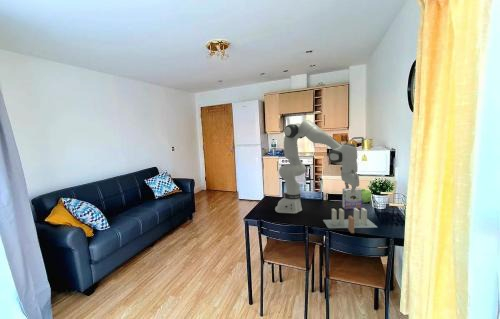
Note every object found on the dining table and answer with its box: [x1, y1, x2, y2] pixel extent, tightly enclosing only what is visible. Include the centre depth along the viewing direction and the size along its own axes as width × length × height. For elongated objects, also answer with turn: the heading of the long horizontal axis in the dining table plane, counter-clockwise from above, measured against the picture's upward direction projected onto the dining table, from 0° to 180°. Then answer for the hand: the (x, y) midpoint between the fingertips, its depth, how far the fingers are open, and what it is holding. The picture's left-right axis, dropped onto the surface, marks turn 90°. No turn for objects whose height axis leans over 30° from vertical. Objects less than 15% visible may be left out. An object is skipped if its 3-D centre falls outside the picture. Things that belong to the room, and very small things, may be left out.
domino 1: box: [331, 208, 338, 225], centre depth 154 cm, size 2×5×10 cm, turn 176°
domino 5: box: [360, 207, 368, 225], centre depth 153 cm, size 2×5×10 cm, turn 176°
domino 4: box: [353, 208, 360, 225], centre depth 153 cm, size 2×5×10 cm, turn 176°
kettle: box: [361, 188, 372, 204], centre depth 198 cm, size 15×14×11 cm
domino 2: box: [338, 207, 345, 225], centre depth 154 cm, size 2×5×10 cm, turn 176°
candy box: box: [342, 187, 363, 210], centre depth 183 cm, size 14×6×16 cm, turn 84°
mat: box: [322, 218, 378, 229], centre depth 154 cm, size 32×14×1 cm, turn 86°
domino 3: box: [347, 215, 355, 234], centre depth 142 cm, size 2×5×10 cm, turn 176°
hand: (350, 190), depth 142 cm, fingers open, 8 cm apart
